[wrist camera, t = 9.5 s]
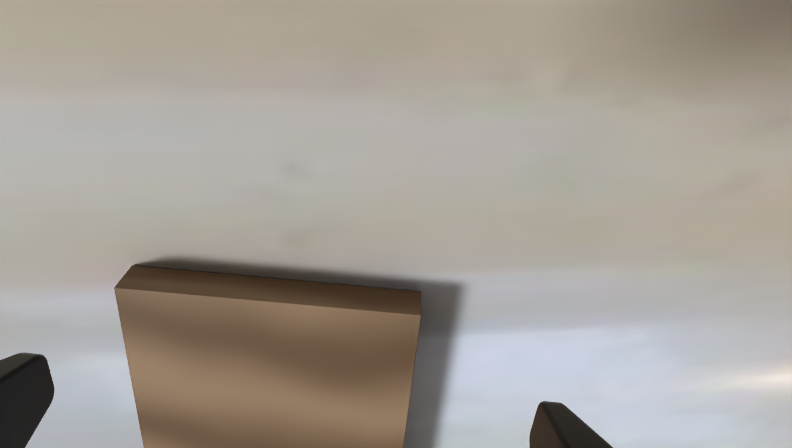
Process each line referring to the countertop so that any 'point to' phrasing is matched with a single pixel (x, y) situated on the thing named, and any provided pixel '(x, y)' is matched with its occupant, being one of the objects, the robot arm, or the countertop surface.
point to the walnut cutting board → (267, 360)
